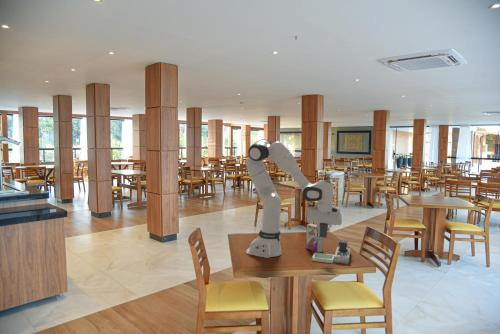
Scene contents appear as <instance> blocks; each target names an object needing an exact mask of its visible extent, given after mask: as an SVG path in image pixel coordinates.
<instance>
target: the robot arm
mask: <svg viewBox="0 0 500 334" xmlns="http://www.w3.org/2000/svg"><path fill="white" fill-rule="evenodd" d="M247 154H248V158H247V159H246V161H245V168H246V169H247V172H248V175H249V177H250V179H251V182H252V184H253V185H254V186H253V187H254V188H255V190H256V192H257V194H258V196H259V198H260V200H261V202H262V218H261V222H262V223H261V229H260V230H259V232H258V236H257V237H256V238H254V239H253V240H252V241H251V243H250V245H249V247H248V248H247V249H246V250H245V251H246V252H245V253H246V255H251V256H255V257H261V258H267V259H269V258H272V257H279V256H282V255H283V253H282V248H281V236H282V235H281V229H280V228H281V227H280V226H281V212H282V199H281V197H280V195H279V194H278V192H277V190H276V188H275V186H274V183H273V181H272V178H271V176H270V174H269V172H268V170H267V168H266V165H265V164H264V160H266V159H268V158H270V159H271V160H272V161H273V162H274V163H275V165H276V166H277V167H278V168H279V170H281V171H282V172H283V173H285V174H287V175H289V176H290V177H291V178H292V179H293V180H294V181H295V183H297V185H298V186H299V188H300V190H301V195H302V198H303V199H304V200H305V201H306V202H317V205H316V206H308V207H307V208H306V212H307V215H306V221H307V222H309V223H315V225H317V227H318V230H320V227H319V224H320V223H325V224H329V225H328V228H327V232H330V231H331V228H332V226H333V225H335V226H341V225H342V224H343V222H342V221H343V215H342V213H341V207H339V206H336V205H335V204H334V202H333V199H334V186H333V185H334V184H333V183H332V182H331V181H330V180H325V179H320V180H318V181H317V182H314V183H312V181H309V180H308V179H307V177H306V176H305V175H304V173H303V172H302V171H301V169H300V167H299V164H298V162H297V160H296V157H294V155H293V153H291V151H290V150H289V148H288V147H286V146H285V145H284V144H283V143H282V142H280V141H274V142H271V141H270V140H269V139H267V138H264V139H263V138H262V139H260V140H257V141H255V142H254V143H253V144H251V145H250V146H249V148H248V150H247Z"/></svg>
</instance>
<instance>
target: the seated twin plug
mask: <svg viewBox="0 0 500 334" xmlns="http://www.w3.org/2000/svg"><path fill="white" fill-rule="evenodd" d="M348 242H349V241H348V240H341V239H339V240H338V246H339V247H340V249H339V251H342V252H347V248H348Z"/></svg>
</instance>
